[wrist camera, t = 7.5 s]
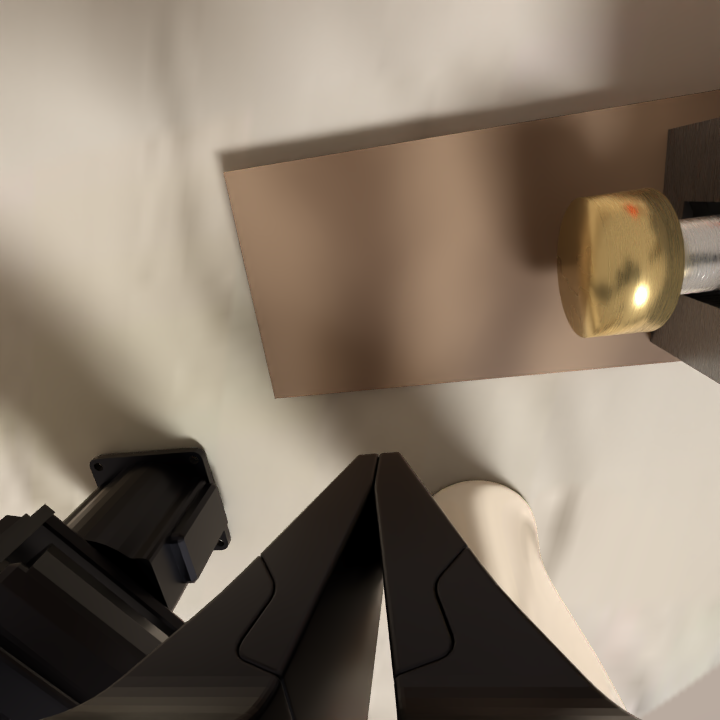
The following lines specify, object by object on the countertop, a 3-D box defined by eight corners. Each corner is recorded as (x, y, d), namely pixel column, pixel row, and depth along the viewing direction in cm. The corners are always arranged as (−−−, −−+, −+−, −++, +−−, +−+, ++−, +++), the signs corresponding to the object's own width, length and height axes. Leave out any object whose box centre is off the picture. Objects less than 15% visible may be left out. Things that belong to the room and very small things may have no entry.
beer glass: (414, 467, 23) (430, 899, 9) (553, 476, 22) (804, 951, 8) (407, 570, 25) (411, 1036, 11) (532, 581, 25) (698, 1084, 11)
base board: (280, 389, 22) (275, 398, 21) (232, 173, 19) (223, 172, 18) (773, 342, 19) (793, 350, 18) (823, 75, 16) (850, 67, 15)
